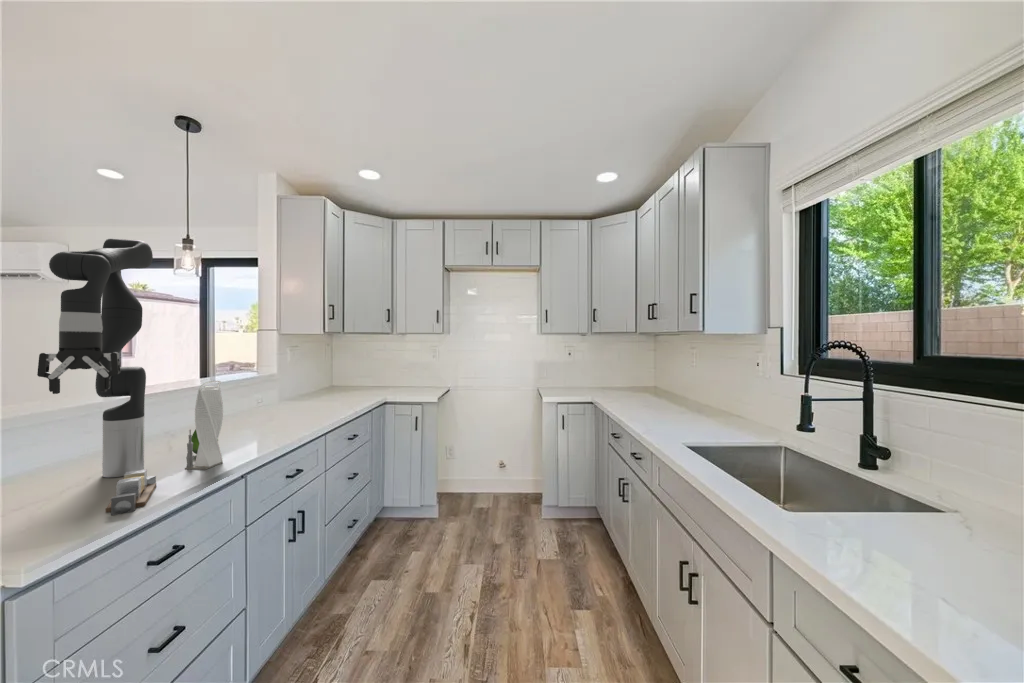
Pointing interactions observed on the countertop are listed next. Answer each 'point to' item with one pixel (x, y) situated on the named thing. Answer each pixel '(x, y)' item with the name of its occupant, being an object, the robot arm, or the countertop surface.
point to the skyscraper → (207, 428)
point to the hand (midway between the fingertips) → (80, 392)
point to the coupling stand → (131, 499)
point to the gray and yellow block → (133, 483)
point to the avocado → (195, 442)
